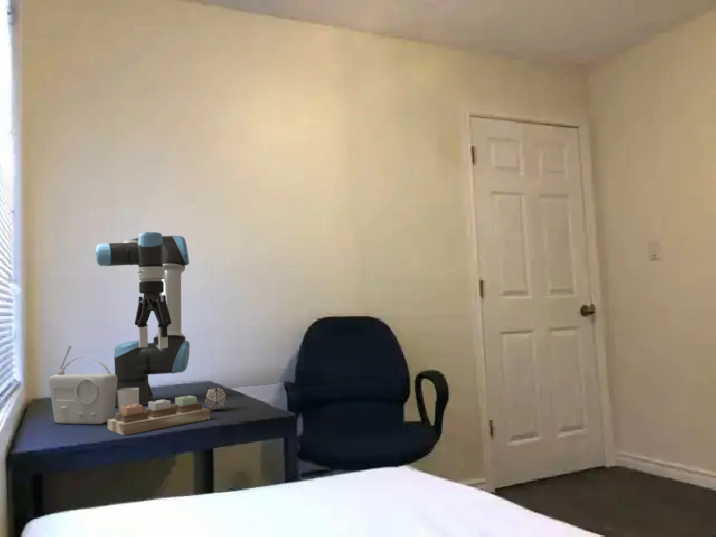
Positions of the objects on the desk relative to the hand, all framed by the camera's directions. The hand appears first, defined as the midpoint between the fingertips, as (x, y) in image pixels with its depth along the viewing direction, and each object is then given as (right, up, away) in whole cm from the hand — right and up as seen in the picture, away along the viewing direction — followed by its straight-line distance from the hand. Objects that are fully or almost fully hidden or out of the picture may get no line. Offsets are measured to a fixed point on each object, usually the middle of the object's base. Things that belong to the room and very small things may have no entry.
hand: (153, 347), depth 208 cm
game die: (+17, -23, +15) cm, 33 cm away
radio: (-24, -25, +3) cm, 34 cm away
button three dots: (-3, -19, -11) cm, 22 cm away
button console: (+4, -23, -5) cm, 24 cm away
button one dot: (+10, -19, +2) cm, 21 cm away
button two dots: (+3, -19, -5) cm, 19 cm away
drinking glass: (-9, -24, +3) cm, 26 cm away
